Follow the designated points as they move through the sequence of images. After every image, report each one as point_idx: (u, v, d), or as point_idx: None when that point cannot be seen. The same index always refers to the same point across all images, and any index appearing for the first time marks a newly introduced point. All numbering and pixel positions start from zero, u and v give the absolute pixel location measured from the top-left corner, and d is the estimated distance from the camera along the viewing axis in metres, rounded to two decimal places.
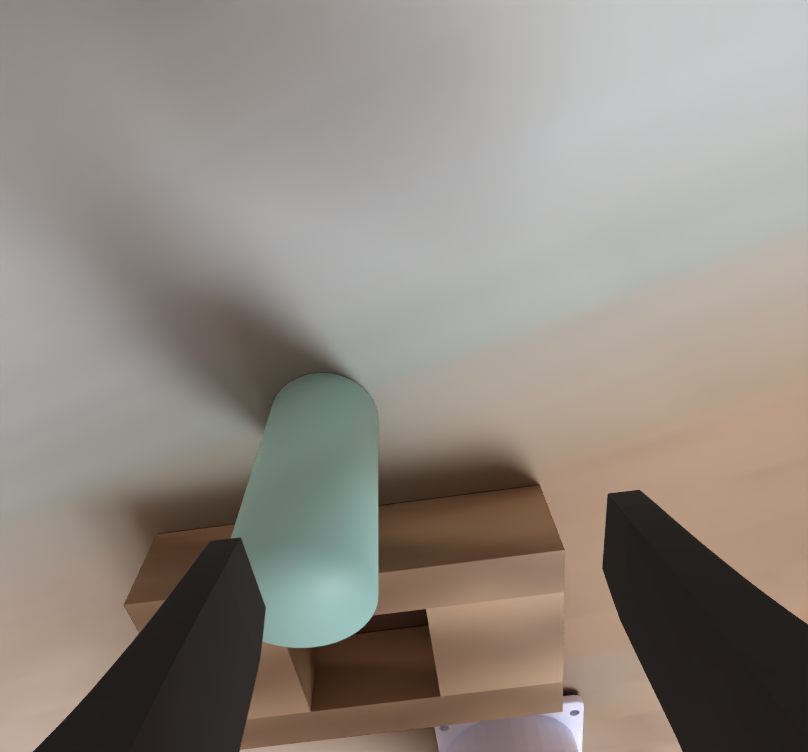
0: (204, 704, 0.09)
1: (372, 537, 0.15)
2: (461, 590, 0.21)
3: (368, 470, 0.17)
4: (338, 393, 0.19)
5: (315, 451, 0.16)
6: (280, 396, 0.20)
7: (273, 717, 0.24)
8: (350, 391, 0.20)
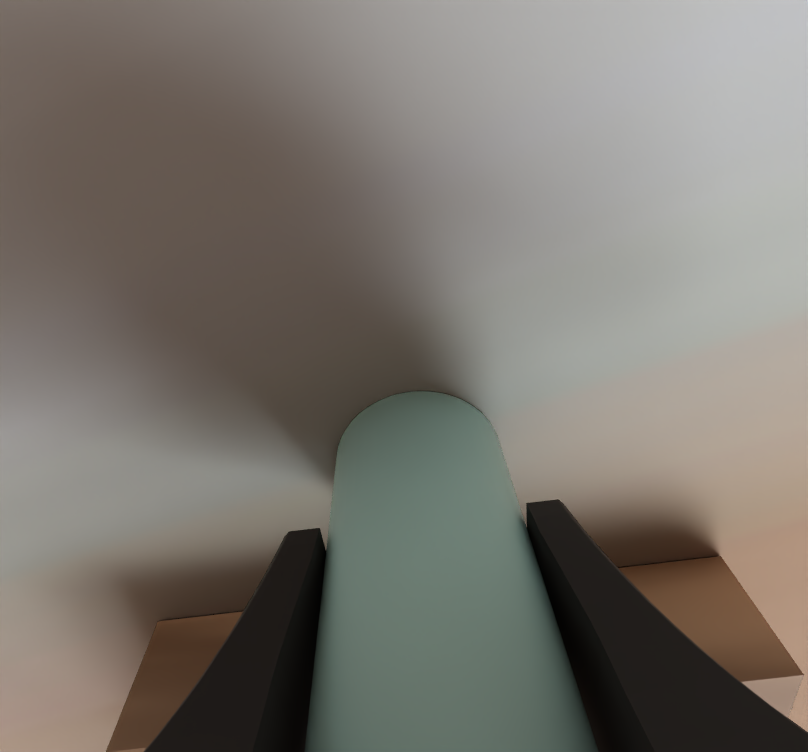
0: (302, 693, 0.09)
1: None
2: None
3: (538, 572, 0.09)
4: (458, 426, 0.12)
5: (458, 544, 0.09)
6: (359, 429, 0.12)
7: None
8: (472, 422, 0.12)
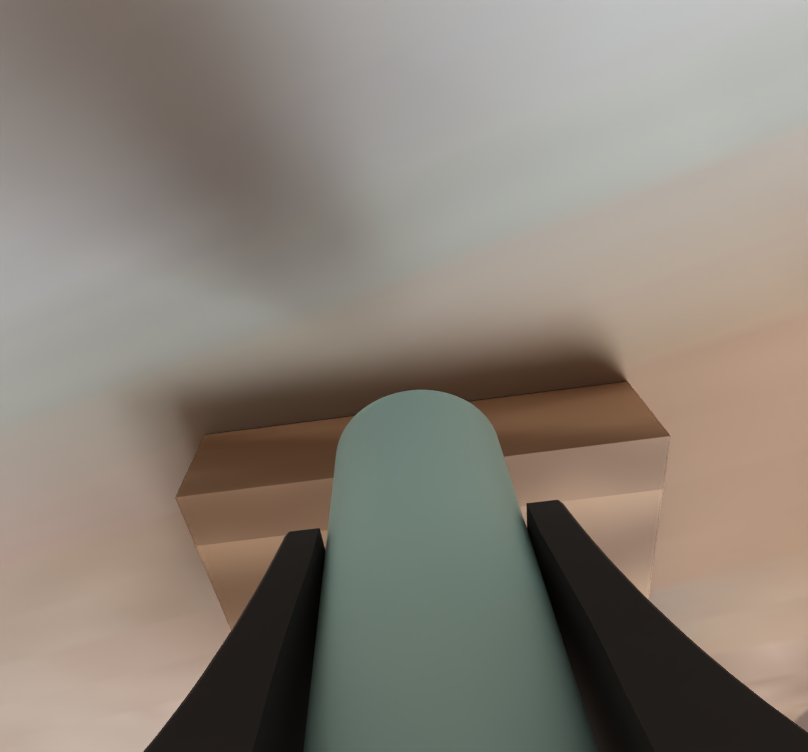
0: (301, 693, 0.09)
1: (590, 727, 0.07)
2: (551, 485, 0.19)
3: (537, 569, 0.09)
4: (457, 424, 0.12)
5: (457, 541, 0.09)
6: (358, 427, 0.12)
7: None
8: (471, 420, 0.12)
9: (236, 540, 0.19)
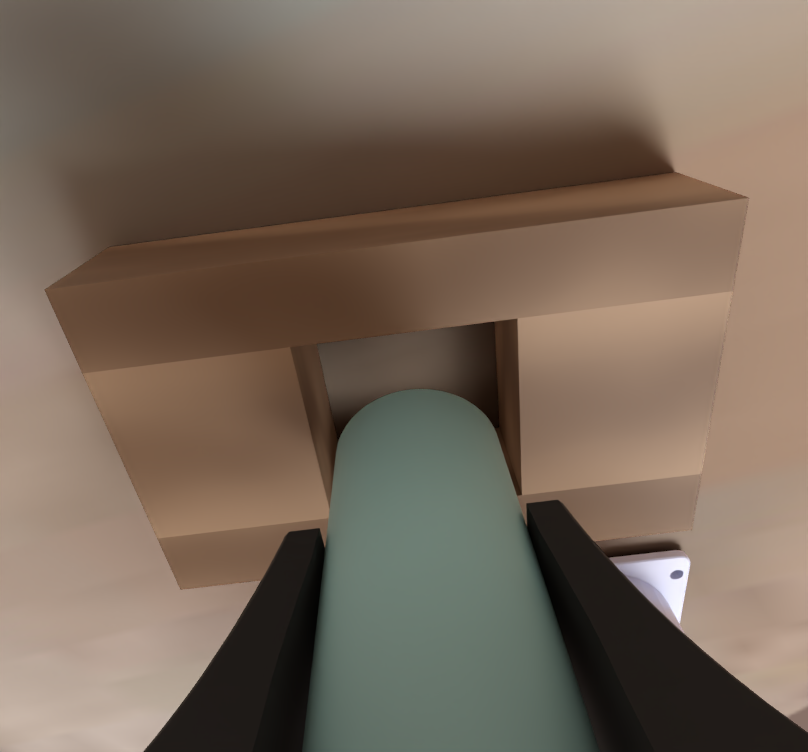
0: (302, 693, 0.09)
1: None
2: (576, 281, 0.13)
3: (538, 568, 0.09)
4: (458, 423, 0.12)
5: (457, 538, 0.09)
6: (358, 426, 0.12)
7: (276, 525, 0.17)
8: (472, 419, 0.12)
9: (138, 365, 0.14)
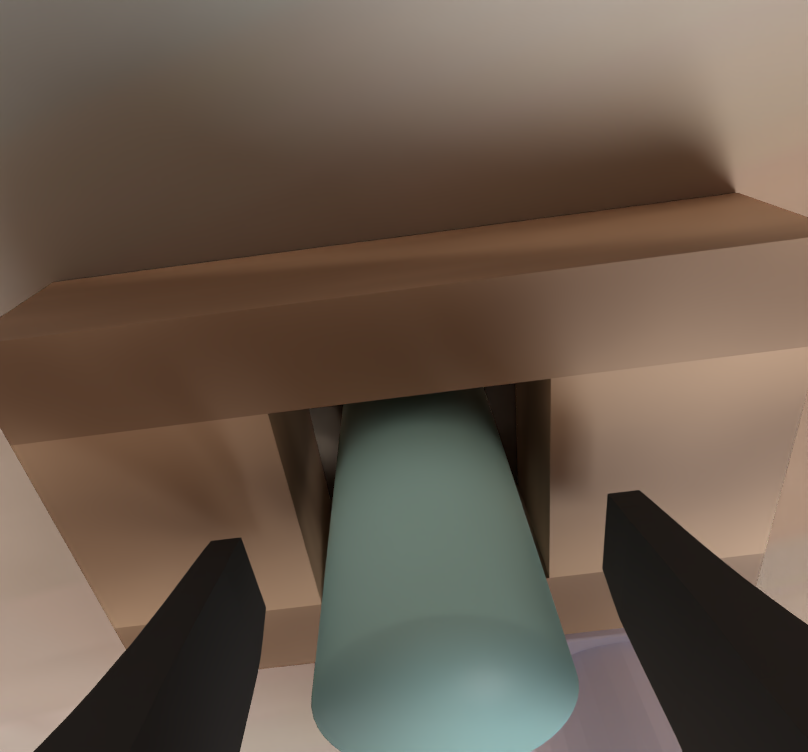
0: (204, 704, 0.09)
1: (553, 601, 0.09)
2: (625, 334, 0.11)
3: (515, 490, 0.11)
4: None
5: (446, 460, 0.10)
6: None
7: None
8: None
9: (80, 435, 0.11)
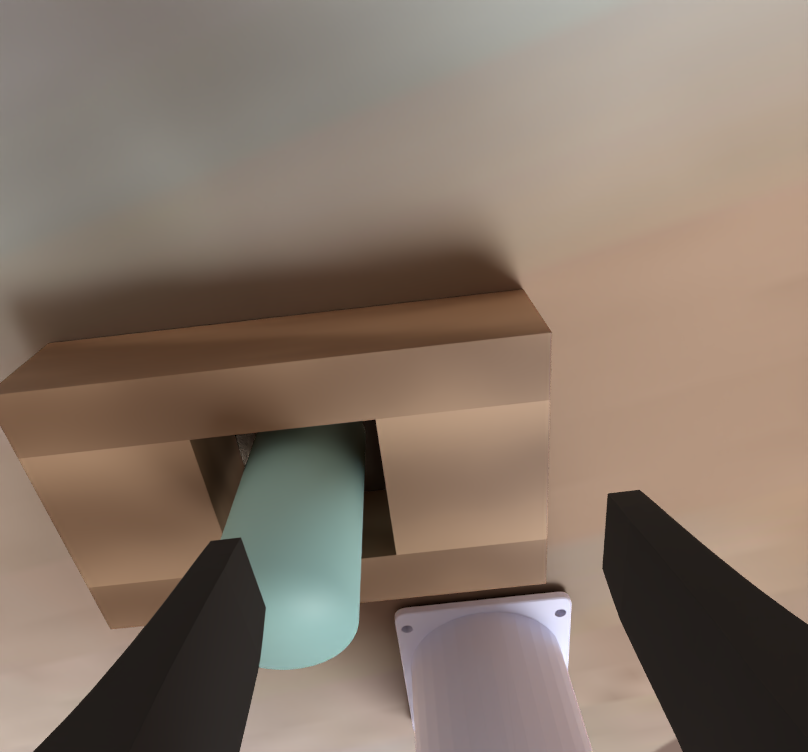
0: (204, 704, 0.09)
1: (355, 561, 0.15)
2: (420, 392, 0.16)
3: (353, 493, 0.17)
4: None
5: (301, 472, 0.16)
6: None
7: None
8: None
9: (64, 452, 0.17)
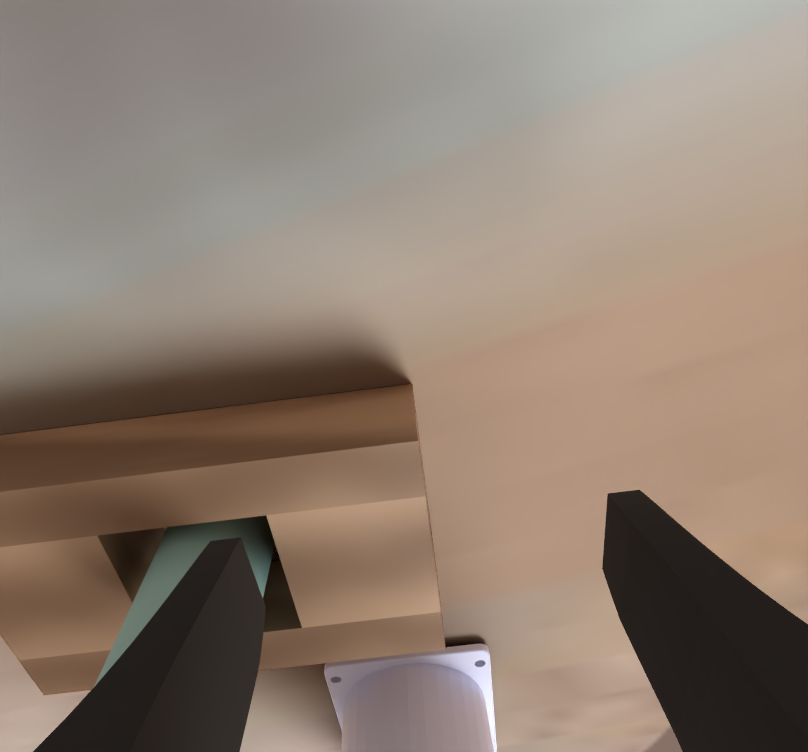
0: (204, 704, 0.09)
1: None
2: (304, 492, 0.18)
3: None
4: None
5: None
6: None
7: None
8: None
9: None
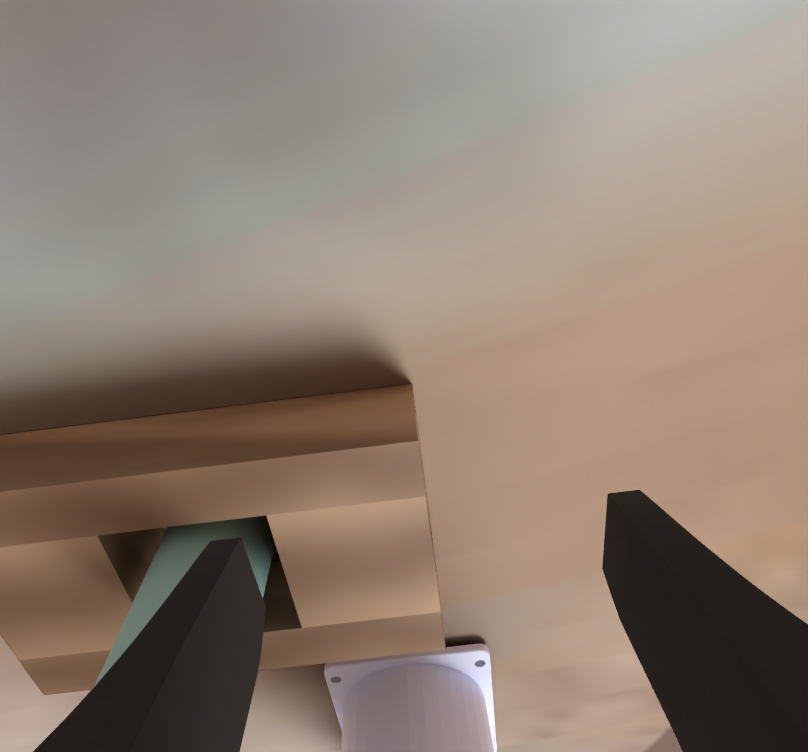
0: (204, 704, 0.09)
1: None
2: (304, 492, 0.18)
3: None
4: None
5: None
6: None
7: None
8: None
9: None
